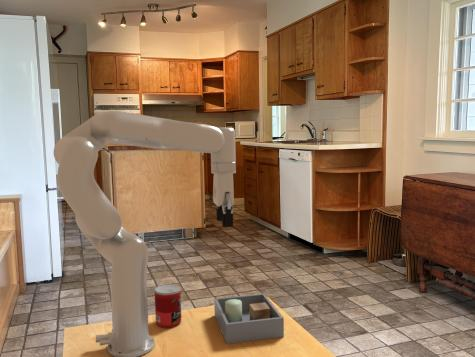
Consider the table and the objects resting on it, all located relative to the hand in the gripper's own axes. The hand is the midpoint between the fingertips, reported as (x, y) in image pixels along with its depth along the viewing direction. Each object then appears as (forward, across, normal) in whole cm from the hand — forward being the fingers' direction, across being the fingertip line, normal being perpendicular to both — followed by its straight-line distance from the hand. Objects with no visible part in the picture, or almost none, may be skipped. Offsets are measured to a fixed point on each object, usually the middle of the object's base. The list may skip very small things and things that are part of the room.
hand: (224, 223), depth 134 cm
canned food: (+31, -1, -18) cm, 35 cm away
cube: (+30, +7, +9) cm, 32 cm away
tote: (+30, +7, +5) cm, 31 cm away
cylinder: (+30, +7, +1) cm, 31 cm away
